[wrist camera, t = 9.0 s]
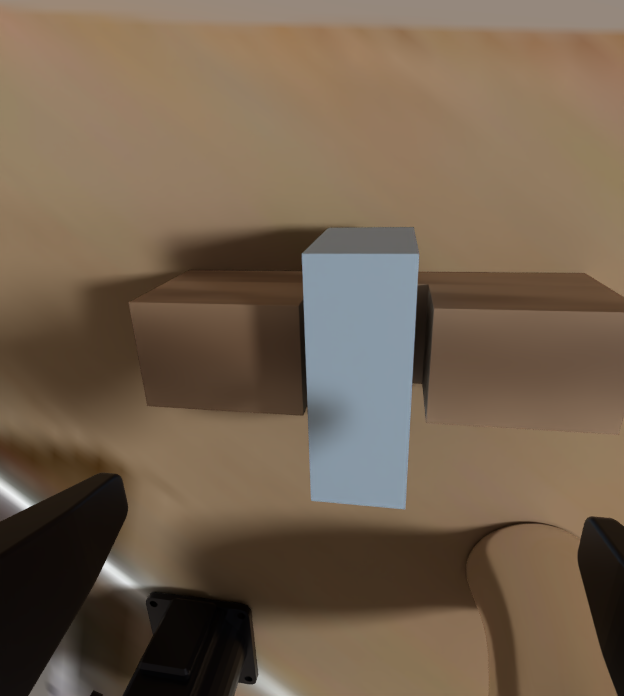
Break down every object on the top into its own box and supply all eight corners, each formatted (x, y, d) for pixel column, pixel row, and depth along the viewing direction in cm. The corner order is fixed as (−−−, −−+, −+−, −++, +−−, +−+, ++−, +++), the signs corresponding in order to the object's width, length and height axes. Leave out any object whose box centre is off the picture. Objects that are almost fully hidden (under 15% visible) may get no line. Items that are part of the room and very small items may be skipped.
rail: (566, 369, 19) (619, 434, 15) (199, 354, 22) (147, 406, 17) (585, 273, 18) (649, 312, 13) (188, 270, 20) (128, 302, 16)
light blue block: (404, 426, 19) (405, 509, 15) (331, 421, 20) (311, 500, 15) (413, 227, 16) (419, 253, 12) (328, 227, 17) (301, 253, 12)
